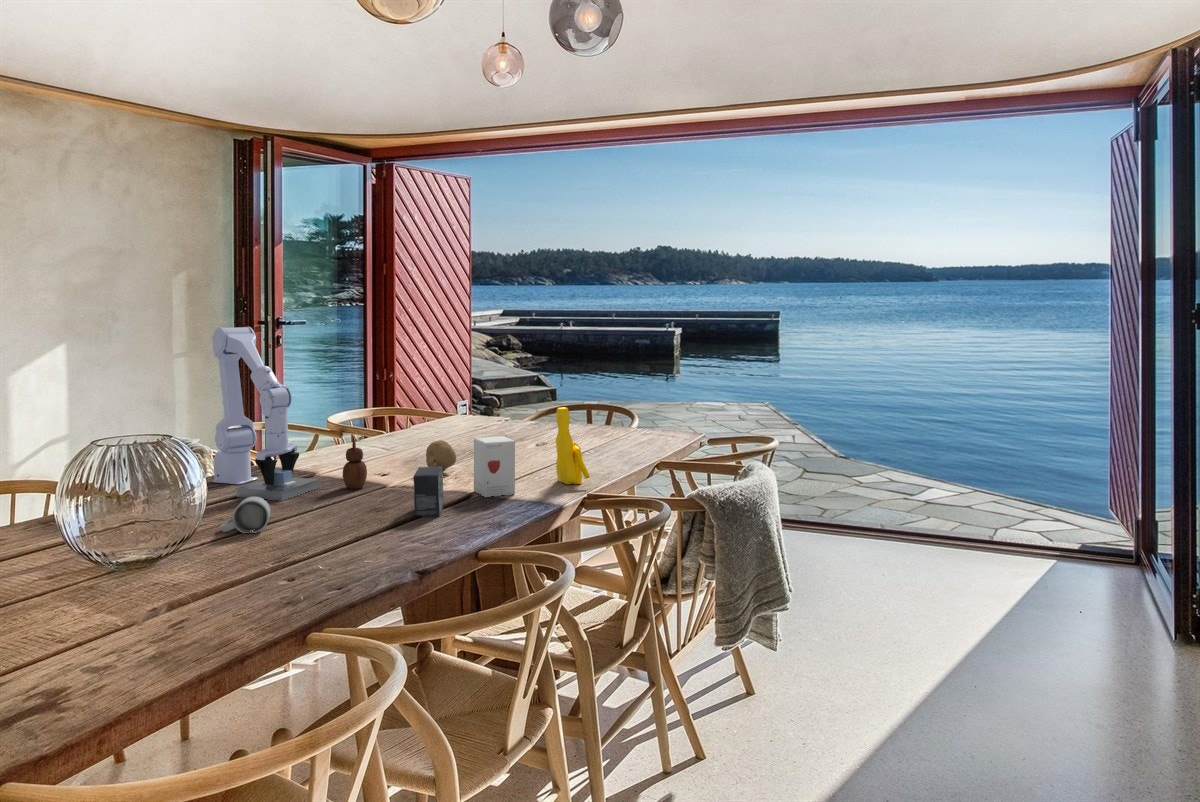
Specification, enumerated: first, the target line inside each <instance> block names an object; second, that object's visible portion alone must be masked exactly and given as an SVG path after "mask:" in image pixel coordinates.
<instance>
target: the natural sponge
mask: <svg viewBox="0 0 1200 802" xmlns="http://www.w3.org/2000/svg"><path fill="white" fill-rule="evenodd" d="M425 458H426V459H425V461H426V465H427V466H426V467H443V473H444V472H445V471H446V470H447V469H448V468H450V467H452V466H454V465H455V464H456V462H457V455H456V452H455V450H454V449H453V447H452V445H451V444H450V443H448V442H447V441H445V440H442V439H440V440H436V441H435V440H434V441H432V442H431V443H430V444H428V446H427V447H426V451H425Z"/></svg>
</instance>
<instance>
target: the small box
mask: <svg viewBox="0 0 1200 802" xmlns="http://www.w3.org/2000/svg"><path fill="white" fill-rule="evenodd" d="M443 474H444V472H443V467H428V466H424V467H423V466H422V467H421V466H419V467H418V468H417V470H416V472H415V473H414V474H413V504H414V505H413V508H414V517H415V516H421V517H423V518H424V517H425V518H426V517H427V516H439V517H440V516H441V514H442V513H443V512H442V511H443V509H444V506H445V503H444V502H445V501H444V475H443ZM421 517H420V518H421Z"/></svg>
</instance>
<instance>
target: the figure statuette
mask: <svg viewBox="0 0 1200 802" xmlns="http://www.w3.org/2000/svg"><path fill="white" fill-rule="evenodd" d="M570 421H571V419H570V411H569V408H568V407H565V406H564V407H557V409H556V424H557V430H558V432H557V435H556V437H555V448H556V455H557V457H556V476H557V481H559V482H561V483H563V484H565V485H572V484H577V485H578V484H579V485H580V484H582V482H583V480H582V479H583V477H584V479H585V480H586V479H589V478H590V477H591V476H590V475H591V474H590V473H589V471H588V468H587V466H586V464H585V462H584V458H583V452H582V451H581V449H582V448H581V447H580V446H579V445H578V444H577V443H576V442H574V441H573V439H572V434H571V433H570Z"/></svg>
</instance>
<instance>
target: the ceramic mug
mask: <svg viewBox="0 0 1200 802" xmlns="http://www.w3.org/2000/svg"><path fill="white" fill-rule="evenodd" d="M270 516H271V506H270V505H269V503H268V501H267V500H264V499H262V498H260V497H248V498H243V500H242V501H240V503H239V504H238V505H237V506H236V507H235V508H234V511H233V512H232V518H231V519H229V520H227V521H225V522H223V523H222V524H221V525H220V527H219V528H220V530H221V531H222V533H227V532H230V531H232V530H234V529H236V530H238V531H239V532H240V533H243V534H245V533H255V534H258V533H260V532H261V531H262V530H264V529H265V528H266V526H267V525H268V522H269V520H270ZM251 529H255V530H253V531H254V532H252V531H251V532H250V530H251ZM257 532H258V533H257Z"/></svg>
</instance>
